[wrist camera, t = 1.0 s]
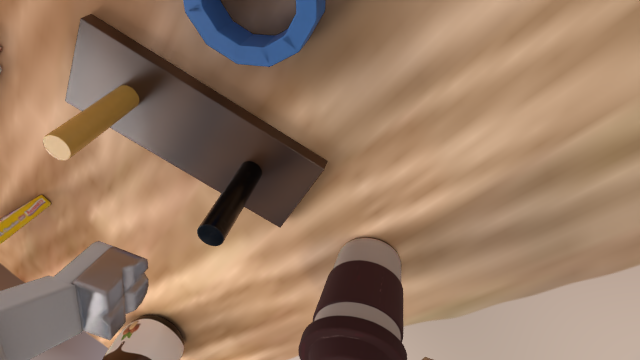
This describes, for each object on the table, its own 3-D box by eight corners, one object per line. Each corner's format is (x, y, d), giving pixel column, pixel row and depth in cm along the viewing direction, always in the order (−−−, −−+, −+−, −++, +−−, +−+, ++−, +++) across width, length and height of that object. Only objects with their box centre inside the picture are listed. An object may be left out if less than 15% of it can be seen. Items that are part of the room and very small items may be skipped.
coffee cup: (414, 291, 52) (406, 418, 40) (333, 286, 54) (303, 403, 42) (412, 228, 46) (402, 352, 34) (322, 225, 49) (284, 339, 37)
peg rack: (74, 95, 46) (-17, 150, 37) (90, 13, 40) (-12, 55, 31) (283, 219, 50) (248, 298, 40) (327, 161, 44) (298, 237, 34)
